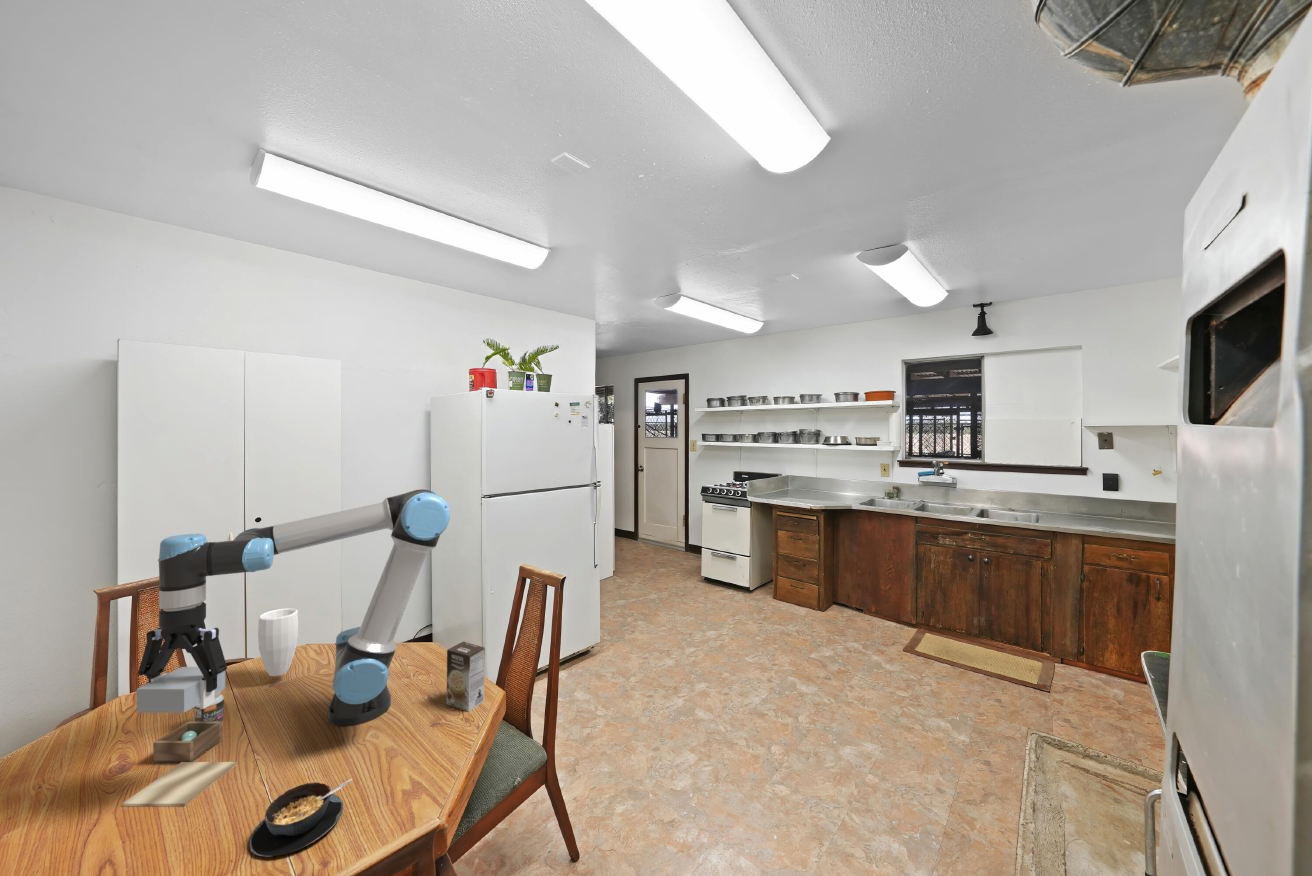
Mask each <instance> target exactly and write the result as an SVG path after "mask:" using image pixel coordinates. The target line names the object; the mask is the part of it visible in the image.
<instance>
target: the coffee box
mask: <svg viewBox="0 0 1312 876" xmlns="http://www.w3.org/2000/svg"><path fill="white" fill-rule="evenodd" d="M485 652H486V648H485V647H484V646H481V645H477V644H474V643H470V642H468V641H462V642H459V643H458V644H456V645H453V646H452V647H450V648H448V649H447V650H446V705H448V706H451V707H454V708H457V709H460V710H461V711H462V710H463V711H466V712H471V711H473V710H474V709H476V708H477V707H478V706H480V705H481V704H483V703H485V673H486V672H485V670H486V669H485V663H486V662H485V661H486V658H485V656H486V653H485Z"/></svg>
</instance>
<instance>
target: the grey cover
mask: <svg viewBox="0 0 1312 876" xmlns="http://www.w3.org/2000/svg"><path fill="white" fill-rule="evenodd" d="M209 671H211V670H209ZM202 678H204V676H203V674H202V673H201V671H200V669H199V667H198V666H181V667H179V668H177V669H175V670H173V671H171V672H168V673H167V674H166V675H164V676H162V677H160V678H158V679H156V680H154V681H152V682H150V683H149V682H148V683H147V684H145V685H143V686H140V687H138V688H136V714H137V713H139V714H142V713H143V714H144V713H145V714H153V713H155V714H159V713H161V714H166V713H167V714H169V713H170V714H172V713H173V714H177V713H178V714H179V713H180V714H181V713H182V714H184V713H186V712H188V711H189V710H191V709H193V708H195V706H196V705H198V704H200V679H202ZM225 689H226V670H225V671H223V672H222V673H220V674H218V675H217V688H216V689H215V690H214V691H215V694H217V693H218V692H220V691H221V692H222V691H223V690H225Z"/></svg>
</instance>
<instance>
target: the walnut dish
mask: <svg viewBox="0 0 1312 876" xmlns="http://www.w3.org/2000/svg"><path fill="white" fill-rule="evenodd" d="M188 731H195V732H196V733H197V736H196V737H195V738H193V739H192V740H190V741H180V738H181V736H182V735H183V734H184V733H186V732H188ZM200 733H201V734H200ZM222 741H223V724H222V722H221V721H195V720H194V721H186V722H185V723H183V724H181V725H180V726H179V727H176V728H175V729H173V730H172V731H170V732H168V733H167V734H165V735H164V736H162V737H160V738H159V739H157V740H156V741H154V742H153V747H152V748H153V749H152V750H153V757H152V758H153V764H154V765H155V764H156V765H157V764H160V765H161V764H163V765H164V764H167V765H168V764H173V765H174V764H175V765H178V764H180V763H181V762H196V760H198V759H199V758H200V757H202V756H203V755H204V754H206V753H207V752H209V751H210V750H211V749H213V748H214V747H216V746H217V745H219V744H220V743H221V742H222ZM215 745H216V746H215ZM212 747H213V748H212ZM206 751H207V752H206ZM201 755H202V756H201Z"/></svg>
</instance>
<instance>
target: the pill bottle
mask: <svg viewBox="0 0 1312 876" xmlns="http://www.w3.org/2000/svg"><path fill="white" fill-rule="evenodd" d="M224 718H225V696H224V695H223V694H222V691H220V692H218V693H217V694H215V702H214V703H212V704H211V705H209V706H208V707H206V708H204V709H200V704H198V705H196V706H195V707H194V721H221V722H222V725H223V724H224V720H225V719H224Z"/></svg>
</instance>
